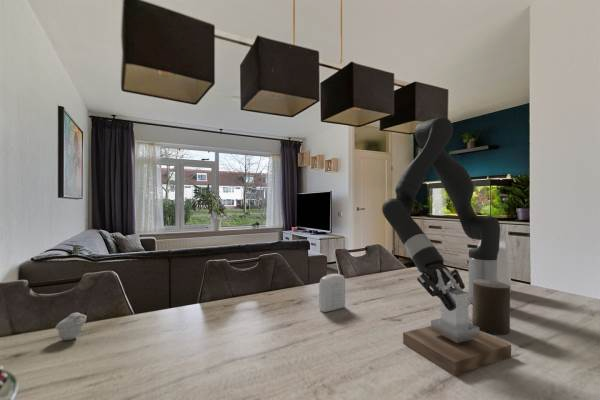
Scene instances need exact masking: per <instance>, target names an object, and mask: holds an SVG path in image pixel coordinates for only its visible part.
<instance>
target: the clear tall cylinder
mask: <svg viewBox="0 0 600 400" xmlns="http://www.w3.org/2000/svg"><path fill="white" fill-rule="evenodd" d="M480 245H481V240H479V242H478V244H477V247H479V246H480ZM497 279H498V282H502V283H505V284H508V285H510V293H511V292H512V280H511V279H512V278H511V262H510V249H509V243H508V242H507V240H506V237H505V235H504V233H503V231H502V230H500V242H499V252H498V255H497Z"/></svg>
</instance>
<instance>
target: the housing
mask: <svg viewBox="0 0 600 400" xmlns="http://www.w3.org/2000/svg"><path fill="white" fill-rule="evenodd" d="M445 290H446V294H448V296H449V297H450V299H451V300H452V302H453V303H454V305H455V309H453V310H452V311H449V310H448V309H447V308H446V307H445V305H444V304H443V302H442V301H441V300H440V317H439V318H436V319H432V320H431V319H430V326H431V330H433V331H434V332H436V333H438V334H440V335H442V336H444V337H446V338H448V339H450V340H452V341H454V342H456V343H460V342H463V341H467V340H471V339H474V338H478V337H479V331H480V330H479V327H478V326H475V325H473V324H472V323H471V322H469V306H468V303H469V304H470V302H469V292H468V291H467V292H466V291H464V290H462V291H461V290H458V289H455V288H454V287H453V288H450V289H446V288H445Z"/></svg>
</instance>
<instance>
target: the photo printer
mask: <svg viewBox="0 0 600 400" xmlns="http://www.w3.org/2000/svg"><path fill="white" fill-rule="evenodd" d="M318 288H319V289H318V290H319V292H318V293H319V294H318V295H319V297H318V299H319V300H318V304H319V305H318V308H319V311H320V312H322V313H327V312H331V311H335V310H339V309H343V308H345V307H346V277H345V276H344V275H342V274H339V273H331V274H330V273H329V274H327V275H324V276H322V278H320V280H319V286H318Z"/></svg>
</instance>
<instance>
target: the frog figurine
mask: <svg viewBox="0 0 600 400" xmlns="http://www.w3.org/2000/svg"><path fill="white" fill-rule="evenodd" d="M87 317H88V316H87V315H85V314H83V313H80V312H73V313H70V314H69V315H68V316H67V317H65V318H63V319H62V320H61V321H59V322H58V323H57V324H56V326H55V329H56V330H57V331H58V336H59V338H60V339H61V340H64V341H72V340H74V339H75V338H77V337H78V336H79V335H80V333H81V332H82V327H83V326H84V325H85V323H86V321H87Z"/></svg>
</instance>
